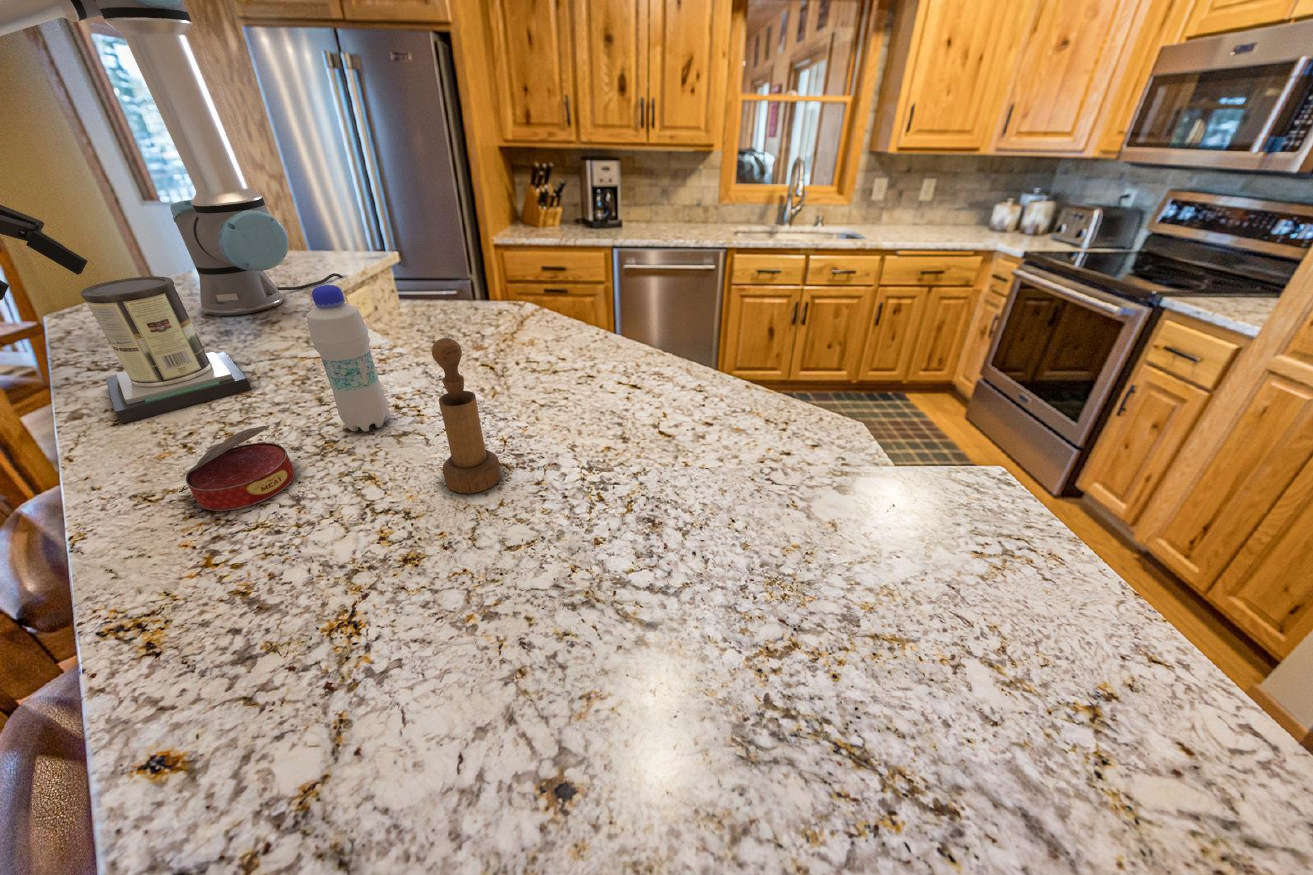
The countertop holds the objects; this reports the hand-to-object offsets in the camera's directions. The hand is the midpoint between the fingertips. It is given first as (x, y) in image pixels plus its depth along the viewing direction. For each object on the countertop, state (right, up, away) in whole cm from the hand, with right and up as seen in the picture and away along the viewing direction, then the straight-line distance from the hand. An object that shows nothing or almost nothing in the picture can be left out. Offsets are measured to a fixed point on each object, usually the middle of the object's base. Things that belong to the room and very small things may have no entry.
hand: (46, 279), depth 77 cm
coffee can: (+11, -13, +8) cm, 19 cm away
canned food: (+39, -29, -13) cm, 50 cm away
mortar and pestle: (+66, -28, -11) cm, 73 cm away
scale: (+11, -15, +9) cm, 21 cm away
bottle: (+47, -21, 0) cm, 51 cm away
